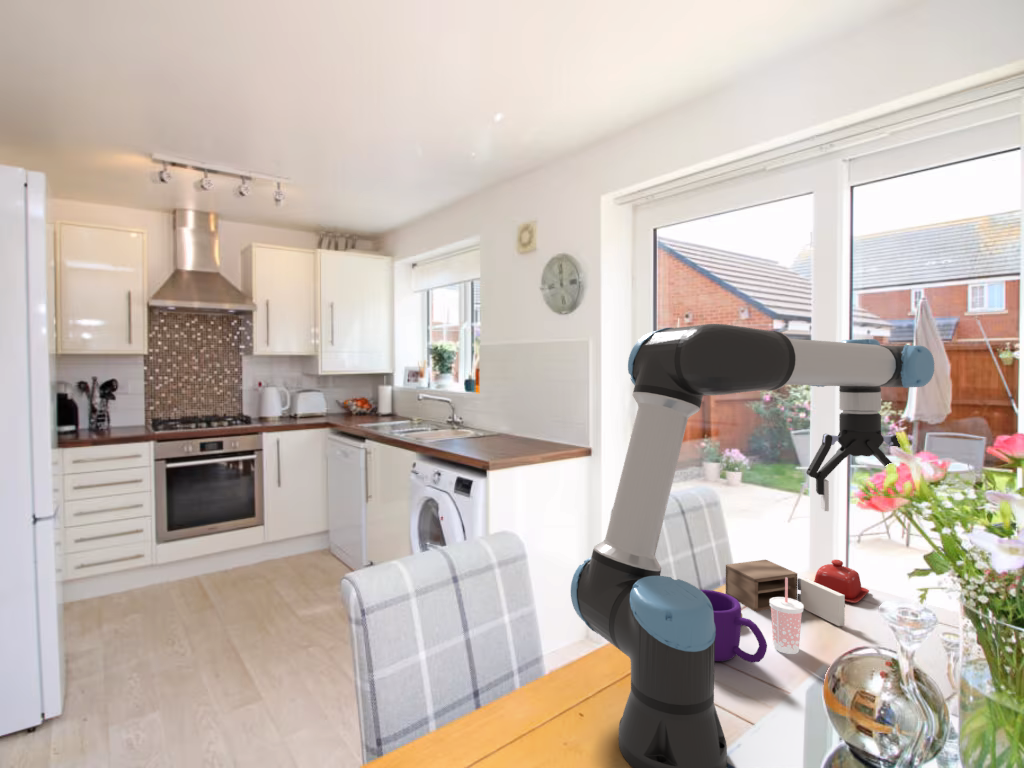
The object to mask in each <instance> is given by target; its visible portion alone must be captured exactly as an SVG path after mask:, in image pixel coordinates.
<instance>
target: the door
mask: <svg viewBox="0 0 1024 768" xmlns="http://www.w3.org/2000/svg"><path fill="white" fill-rule="evenodd" d="M813 581H814V580H810V579H808V578H806V577H805V578H800V577H797V591H798V590H799V591H800V593H797V601H799V602H801V603H802V604H803V605H804V608H803V610H806V611H807V612H810V613H812V614H814V615H816V616H818V617H820V618H821V619H823V620H826V621H828V622H829V623H831V624H834V625H835V626H837V627H843V626H845V617H846V615H845V611H846V610H845V608H846V601H845V595H843V594H841V593H838V592H836V591H834V590H832V589H829V588H827V587H825V586H823V585H820V584H818V583H816V582H813Z"/></svg>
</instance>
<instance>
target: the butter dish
mask: <svg viewBox="0 0 1024 768" xmlns="http://www.w3.org/2000/svg"><path fill="white" fill-rule="evenodd" d="M814 577H815V578H814V580H812V581H813V582H816V583H818V584H820V585H823V586H825V587H827V588H829V589H832V590H834V591H836V592H838V593H841V594H843V595H845V602H848V603H852V604H856V603H859V601H861V600H862V599H863V598H864V597H865V596H866V595H867V594H868V593H870V590H869V589H868V588H866V587H863V586H862V584H861V579H860V574H859V573H858V572H857V570H855V569H852V568H850V567H847V566H844V562H843V561H842V560H840V559H832V560H831V564H830V563H828V564H824V565H821V566H820V567H819V568H818V569H817V571H816V573H815V576H814Z"/></svg>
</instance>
